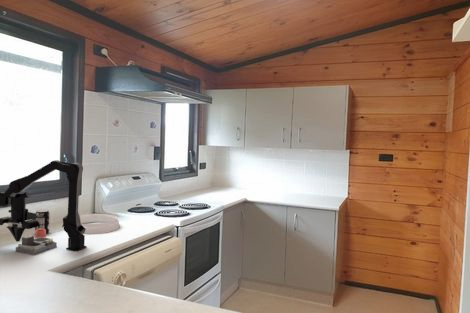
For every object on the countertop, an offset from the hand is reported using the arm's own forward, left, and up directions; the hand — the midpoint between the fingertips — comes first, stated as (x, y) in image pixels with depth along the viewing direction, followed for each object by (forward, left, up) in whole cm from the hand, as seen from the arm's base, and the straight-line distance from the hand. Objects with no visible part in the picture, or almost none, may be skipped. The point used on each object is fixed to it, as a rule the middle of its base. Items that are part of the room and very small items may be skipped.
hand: (17, 241), depth 163 cm
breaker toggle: (-6, 0, -1) cm, 6 cm away
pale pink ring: (-5, -46, -4) cm, 46 cm away
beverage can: (+11, -25, -4) cm, 28 cm away
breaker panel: (-8, -3, -3) cm, 9 cm away
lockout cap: (0, -13, -4) cm, 13 cm away
